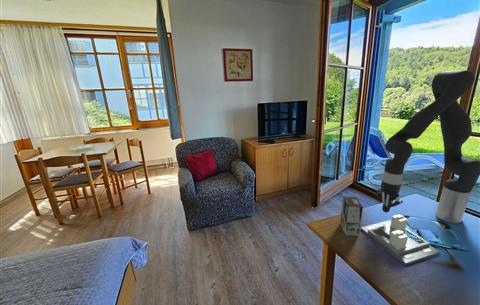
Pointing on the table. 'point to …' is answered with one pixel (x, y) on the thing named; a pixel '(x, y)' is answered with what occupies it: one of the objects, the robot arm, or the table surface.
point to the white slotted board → (407, 255)
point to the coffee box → (351, 216)
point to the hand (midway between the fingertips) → (385, 211)
